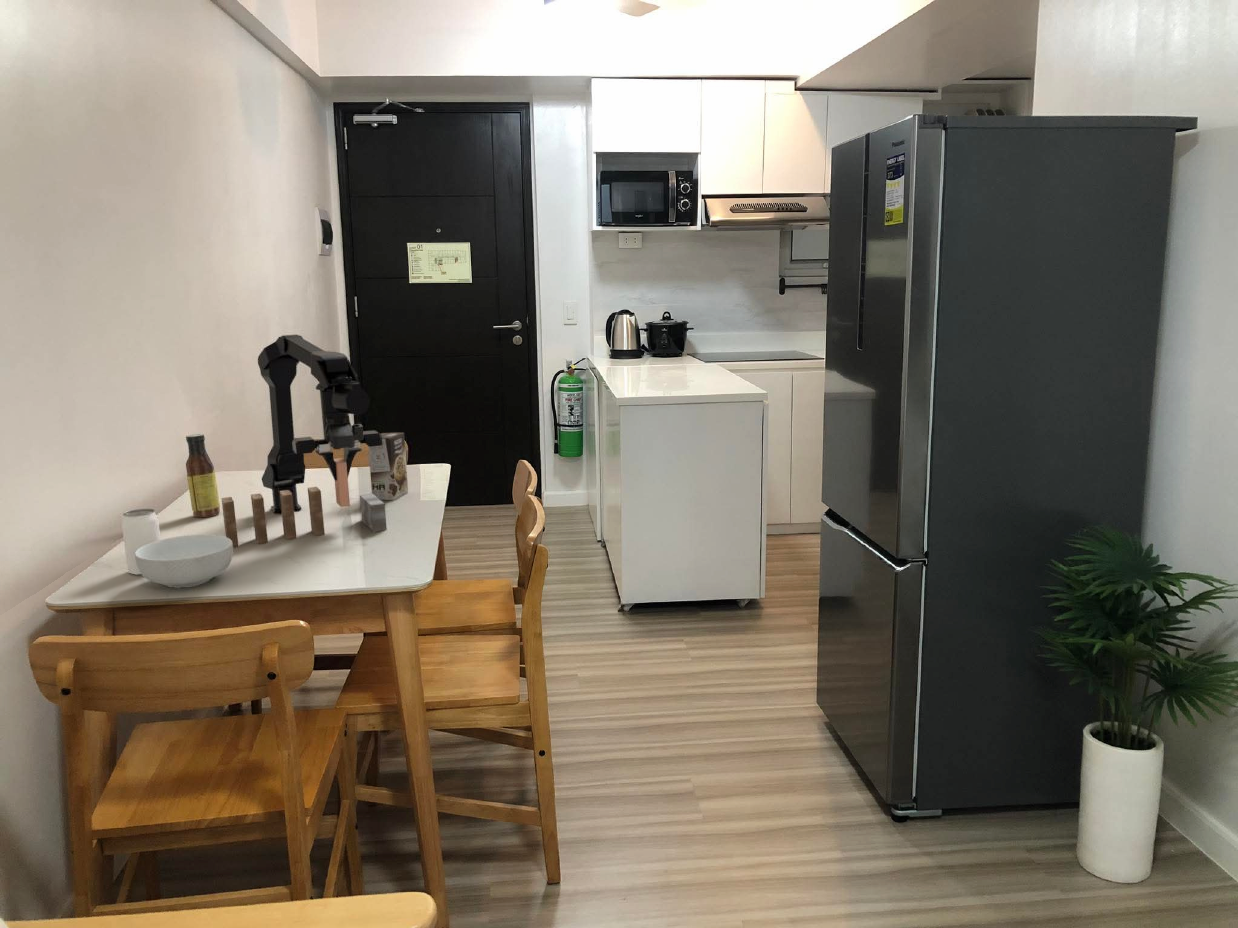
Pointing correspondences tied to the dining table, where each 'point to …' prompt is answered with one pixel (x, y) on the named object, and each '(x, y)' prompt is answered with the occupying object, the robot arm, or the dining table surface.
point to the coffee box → (389, 467)
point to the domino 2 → (259, 518)
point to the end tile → (341, 483)
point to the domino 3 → (288, 514)
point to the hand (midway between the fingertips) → (341, 479)
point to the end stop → (373, 512)
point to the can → (138, 533)
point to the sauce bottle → (201, 478)
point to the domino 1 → (230, 520)
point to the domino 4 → (316, 511)
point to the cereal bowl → (184, 559)
